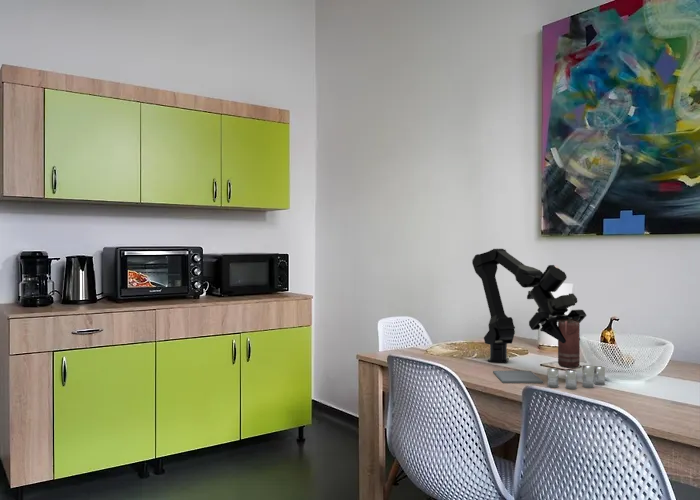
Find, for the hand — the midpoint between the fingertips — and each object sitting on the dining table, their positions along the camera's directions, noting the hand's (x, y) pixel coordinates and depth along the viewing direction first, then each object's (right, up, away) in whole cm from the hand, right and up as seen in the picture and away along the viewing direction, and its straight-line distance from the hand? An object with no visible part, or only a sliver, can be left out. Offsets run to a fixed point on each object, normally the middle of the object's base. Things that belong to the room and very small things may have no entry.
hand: (571, 341), depth 173 cm
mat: (-15, -12, +6) cm, 20 cm away
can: (0, -8, +2) cm, 8 cm away
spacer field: (+2, -12, -3) cm, 13 cm away
